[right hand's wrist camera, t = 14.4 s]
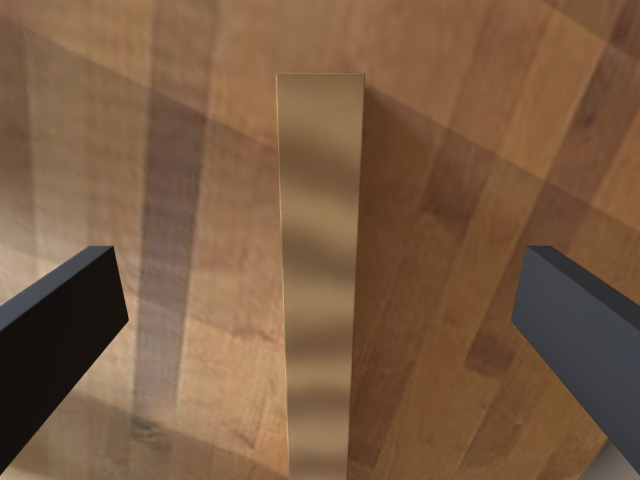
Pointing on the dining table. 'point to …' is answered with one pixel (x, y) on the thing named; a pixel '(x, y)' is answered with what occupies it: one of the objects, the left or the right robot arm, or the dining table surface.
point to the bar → (319, 262)
